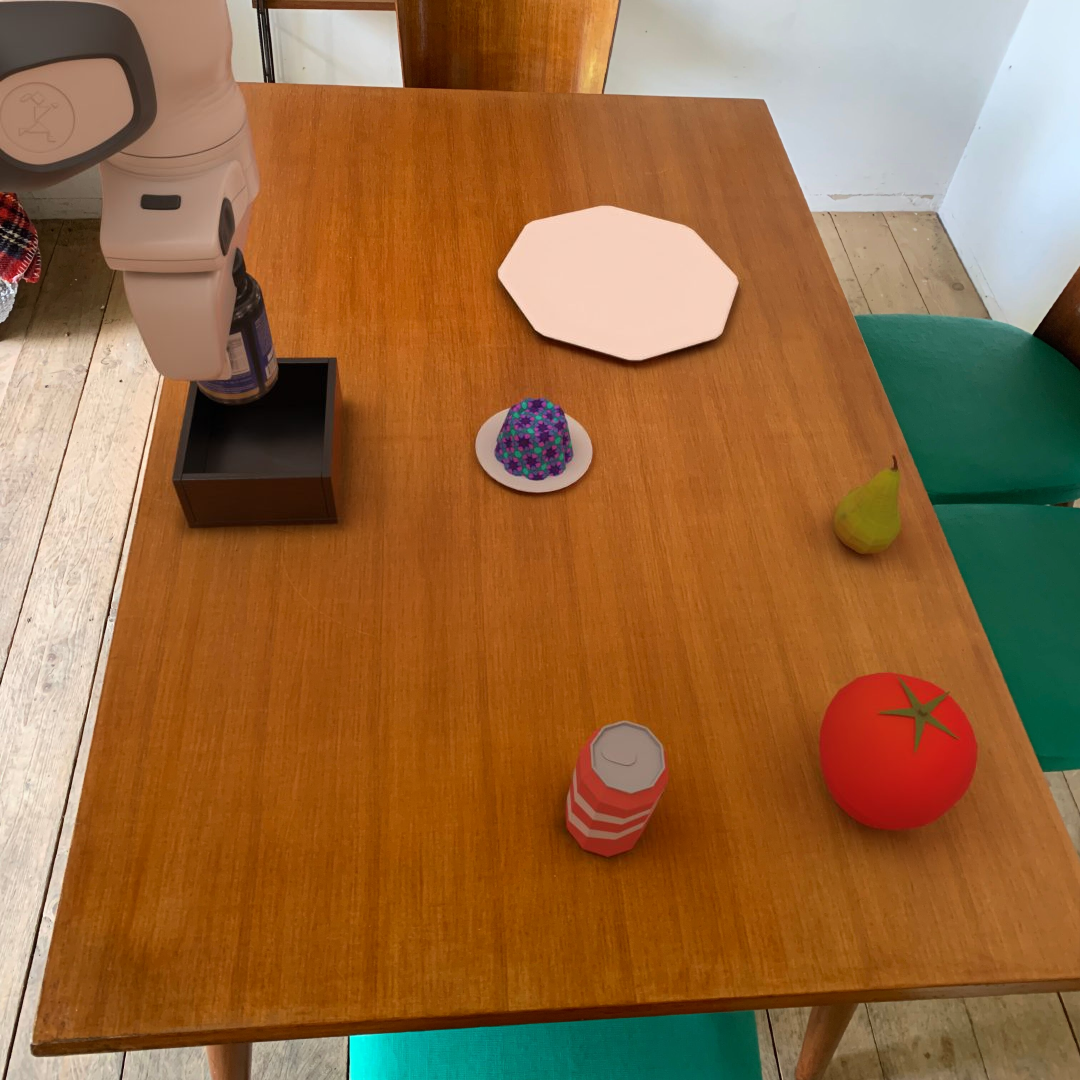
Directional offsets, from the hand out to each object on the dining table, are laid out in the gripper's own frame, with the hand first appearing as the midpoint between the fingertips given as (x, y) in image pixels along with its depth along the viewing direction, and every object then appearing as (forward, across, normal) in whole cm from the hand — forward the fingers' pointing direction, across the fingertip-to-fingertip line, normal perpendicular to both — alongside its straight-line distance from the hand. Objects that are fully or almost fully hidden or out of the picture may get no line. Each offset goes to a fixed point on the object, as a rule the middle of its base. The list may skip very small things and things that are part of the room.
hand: (227, 337), depth 67 cm
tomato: (+24, +27, +49) cm, 61 cm away
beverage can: (+24, +29, +28) cm, 46 cm away
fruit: (+24, +2, +56) cm, 61 cm away
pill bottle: (+4, 0, 0) cm, 4 cm away
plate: (+24, -37, +37) cm, 58 cm away
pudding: (+24, -10, +25) cm, 36 cm away
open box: (+24, -8, -2) cm, 25 cm away
